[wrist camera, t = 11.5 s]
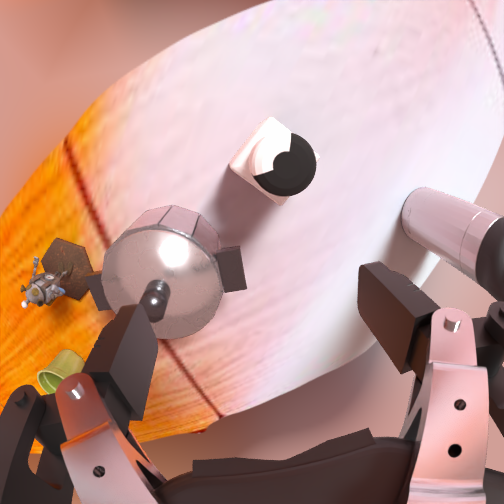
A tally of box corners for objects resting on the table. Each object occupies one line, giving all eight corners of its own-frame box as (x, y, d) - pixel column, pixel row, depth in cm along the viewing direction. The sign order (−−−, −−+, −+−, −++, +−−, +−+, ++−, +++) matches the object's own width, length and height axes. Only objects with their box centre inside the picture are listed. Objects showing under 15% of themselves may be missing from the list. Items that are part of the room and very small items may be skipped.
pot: (230, 193, 36) (232, 209, 28) (247, 288, 42) (253, 324, 33) (98, 222, 35) (69, 243, 27) (127, 306, 41) (110, 341, 33)
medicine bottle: (304, 154, 35) (339, 160, 24) (271, 195, 37) (292, 219, 26) (261, 120, 33) (279, 109, 22) (227, 163, 35) (229, 172, 24)
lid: (206, 217, 28) (202, 232, 23) (230, 326, 33) (231, 353, 28) (90, 241, 27) (70, 259, 23) (128, 338, 33) (118, 364, 28)
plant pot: (47, 339, 42) (29, 367, 34) (83, 344, 43) (67, 375, 35) (63, 372, 46) (49, 400, 38) (98, 378, 47) (86, 408, 39)
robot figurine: (101, 253, 37) (64, 292, 26) (96, 303, 40) (67, 349, 29) (44, 232, 35) (0, 263, 24) (43, 282, 38) (7, 319, 27)
